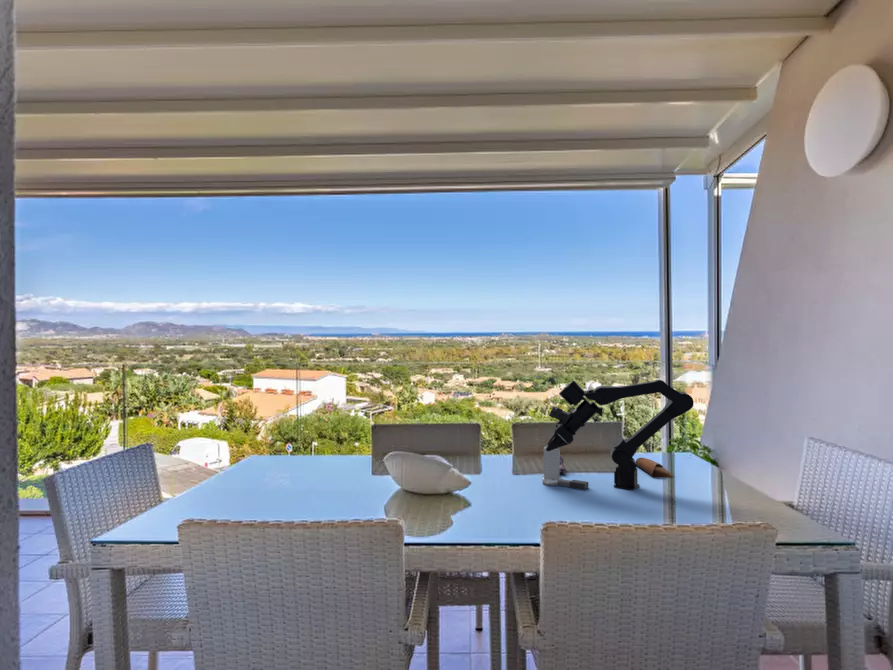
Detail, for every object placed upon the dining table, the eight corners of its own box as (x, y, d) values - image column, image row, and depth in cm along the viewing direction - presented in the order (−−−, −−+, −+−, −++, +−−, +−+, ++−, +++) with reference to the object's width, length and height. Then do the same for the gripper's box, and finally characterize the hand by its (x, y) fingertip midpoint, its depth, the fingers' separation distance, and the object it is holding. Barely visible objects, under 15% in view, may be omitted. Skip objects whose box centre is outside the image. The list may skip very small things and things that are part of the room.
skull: (570, 476, 213) (570, 458, 213) (548, 476, 212) (548, 459, 212) (562, 468, 225) (562, 451, 225) (542, 468, 224) (542, 452, 224)
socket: (559, 476, 204) (559, 446, 204) (559, 479, 199) (558, 449, 199) (544, 475, 205) (544, 446, 205) (543, 478, 200) (543, 449, 200)
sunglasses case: (676, 477, 208) (666, 461, 208) (659, 488, 208) (649, 471, 208) (656, 465, 226) (647, 450, 226) (641, 475, 226) (632, 460, 226)
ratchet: (590, 486, 197) (590, 473, 197) (582, 491, 192) (582, 477, 192) (547, 480, 207) (547, 467, 207) (539, 484, 202) (538, 470, 202)
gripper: (564, 395, 210) (532, 425, 213) (562, 401, 192) (527, 435, 194) (587, 418, 208) (555, 448, 211) (587, 426, 190) (552, 460, 193)
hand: (547, 447), depth 202 cm, fingers open, 9 cm apart
